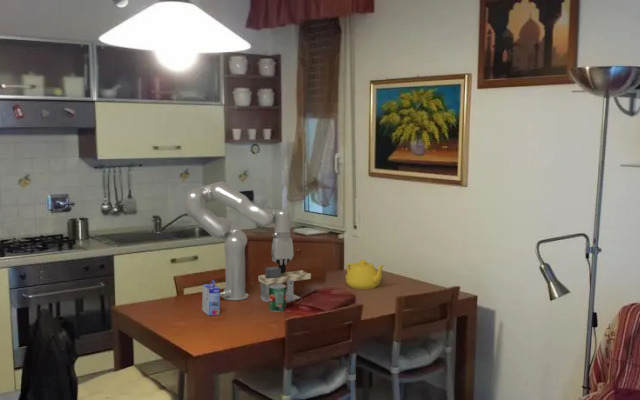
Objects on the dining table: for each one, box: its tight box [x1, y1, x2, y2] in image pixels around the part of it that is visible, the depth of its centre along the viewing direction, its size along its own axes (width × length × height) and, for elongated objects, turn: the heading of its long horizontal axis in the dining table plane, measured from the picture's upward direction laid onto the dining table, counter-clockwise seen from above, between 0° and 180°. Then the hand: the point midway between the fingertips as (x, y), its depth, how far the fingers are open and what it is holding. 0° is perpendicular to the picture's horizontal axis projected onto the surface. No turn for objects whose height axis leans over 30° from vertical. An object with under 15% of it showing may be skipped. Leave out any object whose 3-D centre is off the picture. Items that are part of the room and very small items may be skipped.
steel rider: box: [264, 266, 281, 279], centre depth 315 cm, size 6×5×5 cm
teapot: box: [345, 259, 385, 290], centre depth 344 cm, size 25×18×14 cm
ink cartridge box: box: [201, 279, 221, 317], centre depth 292 cm, size 10×6×14 cm, turn 27°
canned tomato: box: [268, 283, 287, 313], centre depth 298 cm, size 8×8×11 cm
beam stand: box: [260, 280, 301, 303], centre depth 317 cm, size 16×16×10 cm
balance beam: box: [257, 269, 312, 285], centre depth 318 cm, size 24×9×3 cm, turn 119°
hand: (282, 272), depth 317 cm, fingers closed
